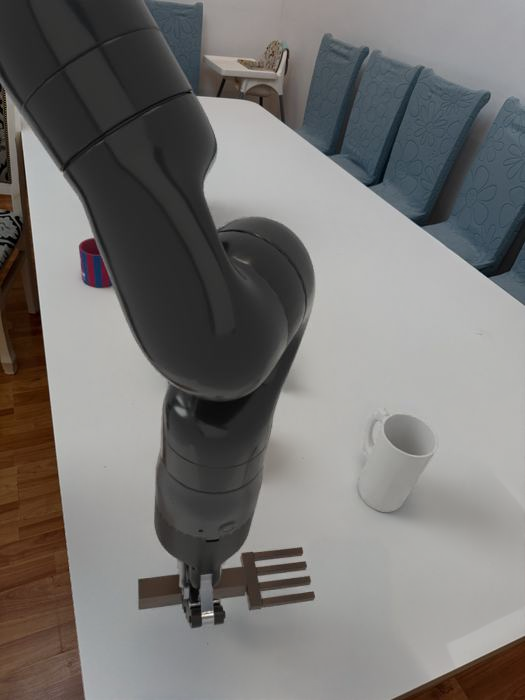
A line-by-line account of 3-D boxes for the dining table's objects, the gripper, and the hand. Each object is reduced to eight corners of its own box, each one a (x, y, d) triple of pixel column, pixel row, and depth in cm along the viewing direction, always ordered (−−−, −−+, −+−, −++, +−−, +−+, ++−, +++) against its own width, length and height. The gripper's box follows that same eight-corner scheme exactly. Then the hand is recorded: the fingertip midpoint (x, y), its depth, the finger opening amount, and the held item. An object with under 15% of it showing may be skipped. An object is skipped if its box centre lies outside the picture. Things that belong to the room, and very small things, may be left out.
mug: (415, 507, 66) (450, 449, 58) (373, 521, 63) (403, 463, 55) (374, 448, 72) (401, 390, 65) (335, 458, 70) (357, 399, 62)
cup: (80, 269, 96) (77, 238, 92) (133, 267, 100) (132, 236, 95) (83, 288, 92) (80, 256, 87) (138, 285, 95) (138, 254, 91)
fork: (138, 630, 44) (138, 619, 43) (138, 572, 48) (138, 560, 47) (312, 604, 48) (317, 594, 47) (298, 553, 52) (303, 542, 51)
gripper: (152, 418, 40) (150, 529, 51) (158, 589, 30) (154, 682, 41) (242, 414, 42) (221, 523, 53) (277, 574, 32) (242, 667, 43)
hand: (192, 592), depth 47 cm, fingers closed on fork, 2 cm apart
